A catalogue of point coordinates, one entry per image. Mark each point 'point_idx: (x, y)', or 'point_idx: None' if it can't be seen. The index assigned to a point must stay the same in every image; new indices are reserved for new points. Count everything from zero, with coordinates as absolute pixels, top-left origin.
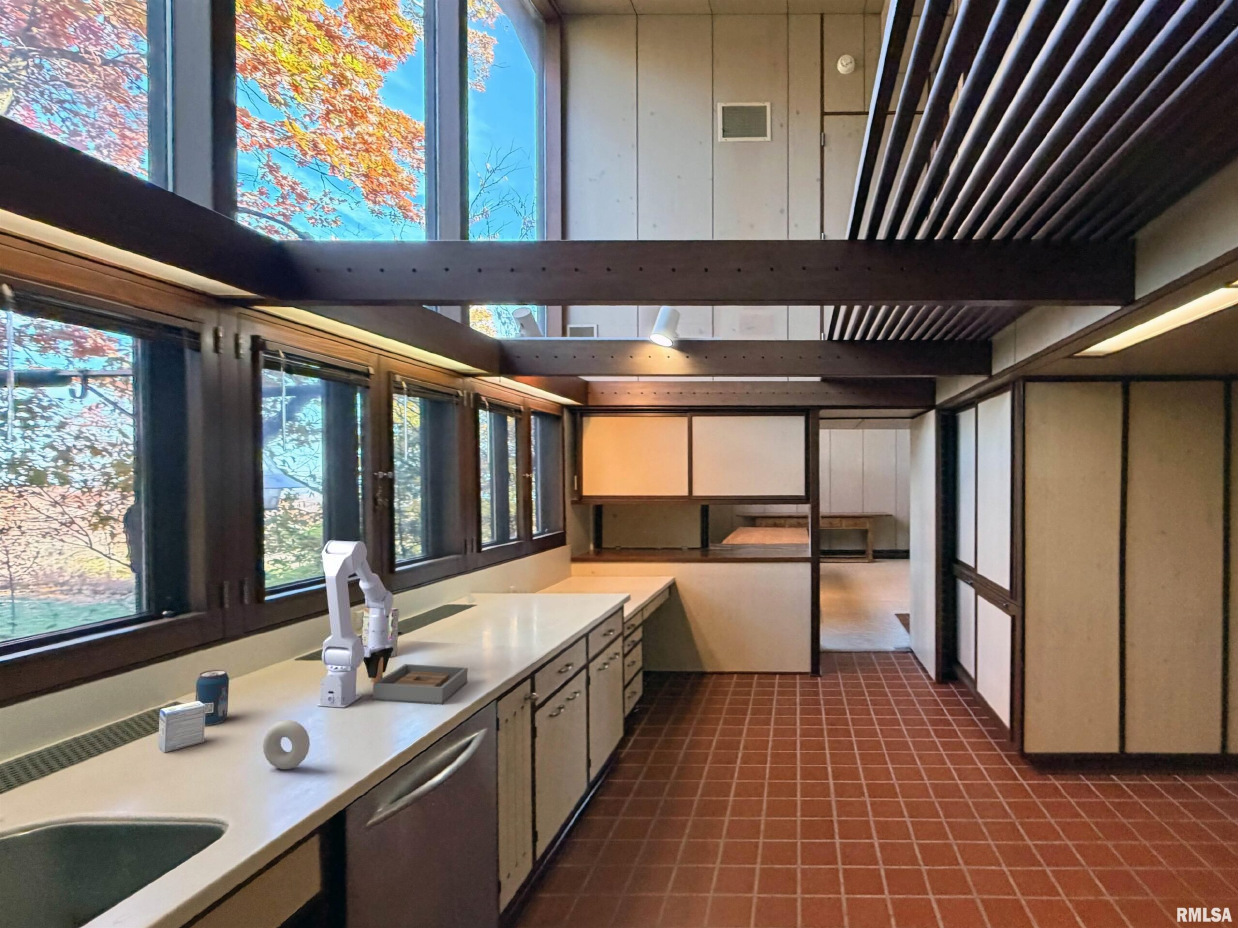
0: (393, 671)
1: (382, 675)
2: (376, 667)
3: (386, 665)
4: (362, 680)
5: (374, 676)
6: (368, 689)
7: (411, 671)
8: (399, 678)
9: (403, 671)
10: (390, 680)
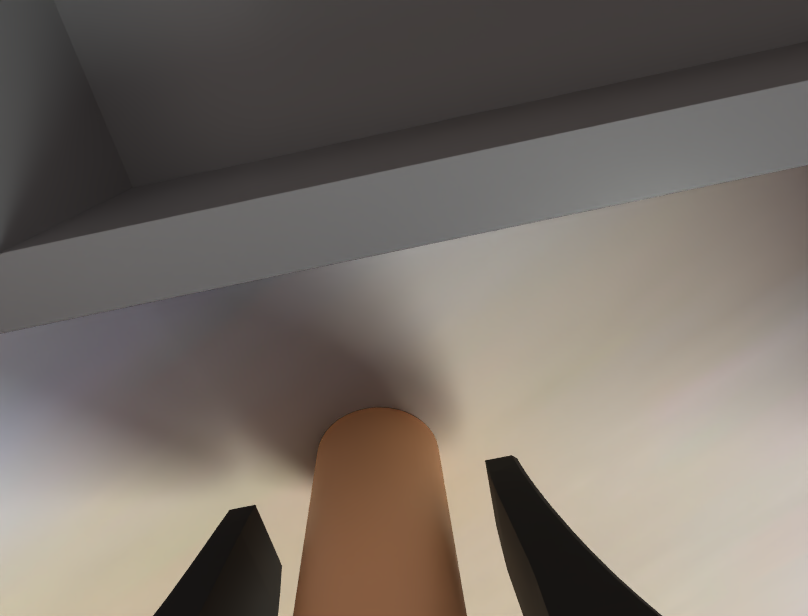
0: (577, 203)
1: (345, 460)
2: (598, 562)
3: (201, 577)
4: None
5: (523, 475)
6: (665, 357)
7: (25, 109)
8: (378, 142)
9: (203, 192)
10: (786, 65)
